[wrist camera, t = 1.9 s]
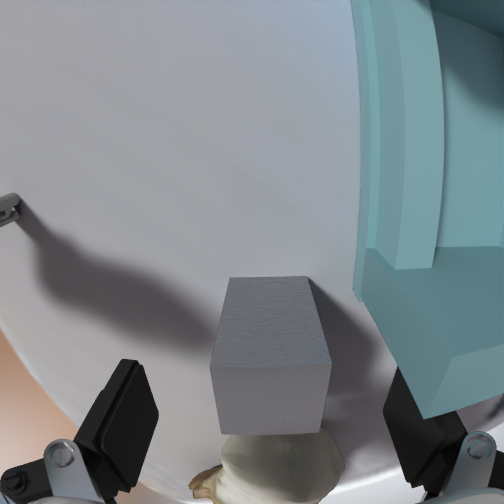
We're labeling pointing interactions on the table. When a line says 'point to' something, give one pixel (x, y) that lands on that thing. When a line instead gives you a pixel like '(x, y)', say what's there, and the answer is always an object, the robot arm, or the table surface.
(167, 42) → the table surface
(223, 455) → the ceramic sculpture
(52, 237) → the table surface
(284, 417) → the brushed grey metal block
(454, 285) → the teal open frame
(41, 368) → the table surface
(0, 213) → the mechanical component
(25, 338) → the table surface
